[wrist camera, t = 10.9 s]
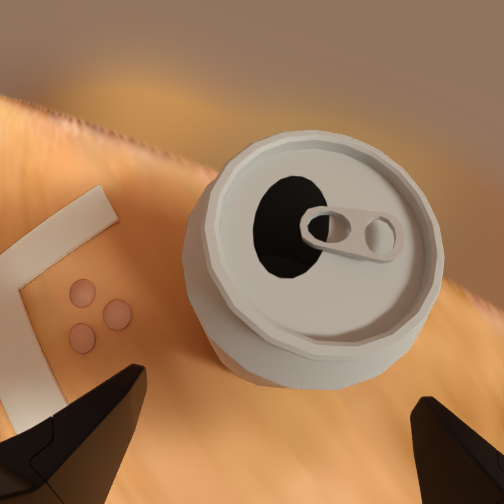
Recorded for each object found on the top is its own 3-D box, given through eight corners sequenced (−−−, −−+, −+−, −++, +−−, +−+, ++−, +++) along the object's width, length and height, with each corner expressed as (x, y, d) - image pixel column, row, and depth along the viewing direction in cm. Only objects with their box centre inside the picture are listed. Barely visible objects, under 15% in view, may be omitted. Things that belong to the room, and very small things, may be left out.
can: (227, 248, 20) (228, 86, 9) (344, 278, 19) (454, 155, 8) (191, 367, 17) (120, 337, 6) (321, 398, 16) (458, 407, 5)
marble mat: (34, 460, 13) (31, 460, 13) (-33, 286, 17) (-35, 285, 17) (205, 356, 17) (205, 355, 17) (101, 186, 21) (99, 183, 21)
